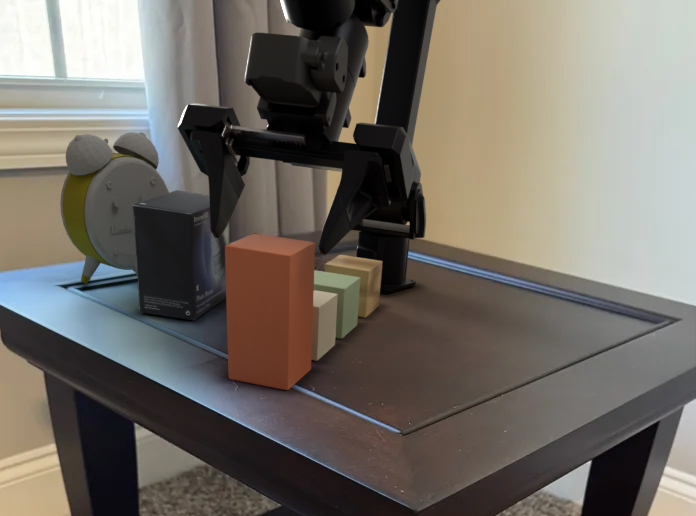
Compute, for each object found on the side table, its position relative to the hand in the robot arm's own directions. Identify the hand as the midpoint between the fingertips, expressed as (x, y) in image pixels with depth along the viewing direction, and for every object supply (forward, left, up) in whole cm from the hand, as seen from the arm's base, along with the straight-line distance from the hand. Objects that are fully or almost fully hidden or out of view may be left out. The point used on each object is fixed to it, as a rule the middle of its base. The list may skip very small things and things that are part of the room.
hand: (267, 243), depth 61 cm
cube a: (-22, -8, -11) cm, 26 cm away
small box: (-9, -20, -11) cm, 25 cm away
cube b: (-14, -5, -11) cm, 19 cm away
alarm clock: (-10, -31, -11) cm, 34 cm away
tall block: (-1, 0, -11) cm, 11 cm away
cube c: (-8, -3, -11) cm, 14 cm away
